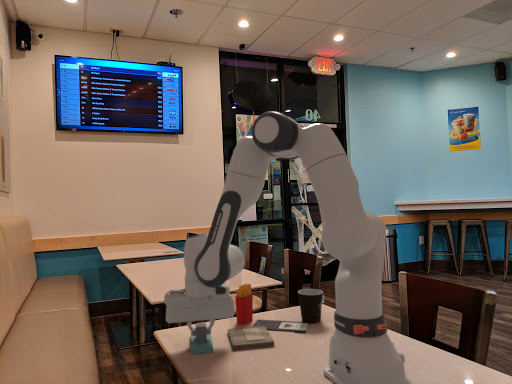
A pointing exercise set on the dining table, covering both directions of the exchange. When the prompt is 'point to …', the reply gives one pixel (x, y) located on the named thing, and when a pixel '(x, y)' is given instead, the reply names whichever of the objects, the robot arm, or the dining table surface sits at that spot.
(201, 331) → the teal base gray block
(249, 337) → the board
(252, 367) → the dining table surface
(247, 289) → the french fries
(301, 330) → the chocolate bar
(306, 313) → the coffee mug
